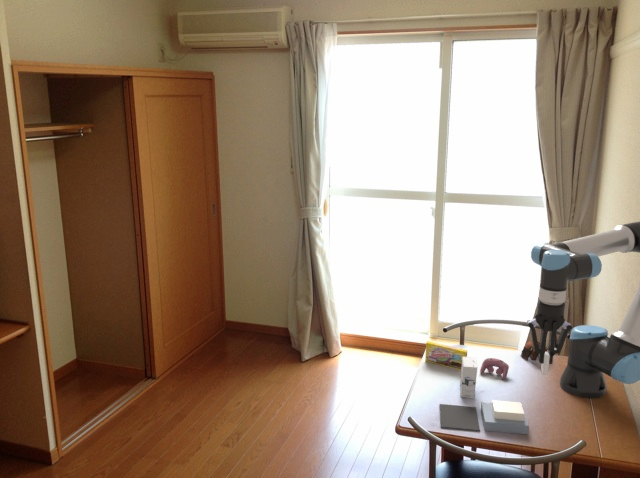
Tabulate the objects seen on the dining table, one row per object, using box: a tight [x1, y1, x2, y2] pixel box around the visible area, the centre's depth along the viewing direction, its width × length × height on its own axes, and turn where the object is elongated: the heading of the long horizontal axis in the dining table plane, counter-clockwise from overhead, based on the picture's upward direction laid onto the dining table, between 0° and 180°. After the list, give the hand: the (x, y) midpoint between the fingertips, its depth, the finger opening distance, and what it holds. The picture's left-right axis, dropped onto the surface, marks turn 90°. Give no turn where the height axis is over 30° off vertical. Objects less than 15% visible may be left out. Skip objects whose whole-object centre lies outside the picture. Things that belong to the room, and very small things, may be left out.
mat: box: [439, 403, 481, 433], centre depth 187 cm, size 12×14×1 cm
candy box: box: [424, 340, 468, 371], centre depth 223 cm, size 16×2×8 cm, turn 58°
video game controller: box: [479, 357, 510, 381], centre depth 217 cm, size 10×5×7 cm, turn 58°
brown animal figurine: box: [520, 339, 548, 361], centre depth 229 cm, size 12×10×8 cm
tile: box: [491, 399, 525, 421], centre depth 184 cm, size 9×7×2 cm
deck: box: [480, 401, 529, 435], centre depth 185 cm, size 13×12×3 cm
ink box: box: [459, 356, 478, 399], centre depth 203 cm, size 9×5×12 cm, turn 168°
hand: (544, 372), depth 179 cm, fingers closed
